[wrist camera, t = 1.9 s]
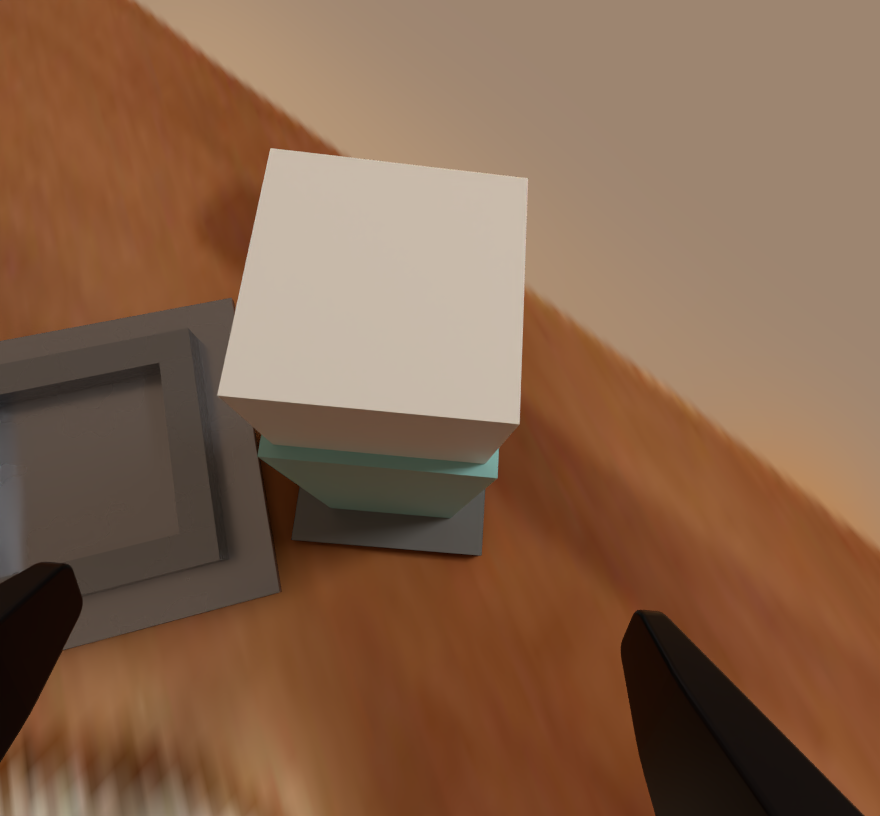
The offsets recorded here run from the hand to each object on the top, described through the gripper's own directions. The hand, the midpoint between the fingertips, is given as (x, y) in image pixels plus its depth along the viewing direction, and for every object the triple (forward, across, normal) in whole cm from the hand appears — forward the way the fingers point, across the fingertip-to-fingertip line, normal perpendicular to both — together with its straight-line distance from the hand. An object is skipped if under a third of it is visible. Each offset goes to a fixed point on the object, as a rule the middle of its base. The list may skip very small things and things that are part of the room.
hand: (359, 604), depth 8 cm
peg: (+11, 0, +4) cm, 12 cm away
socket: (+10, +11, +6) cm, 16 cm away
